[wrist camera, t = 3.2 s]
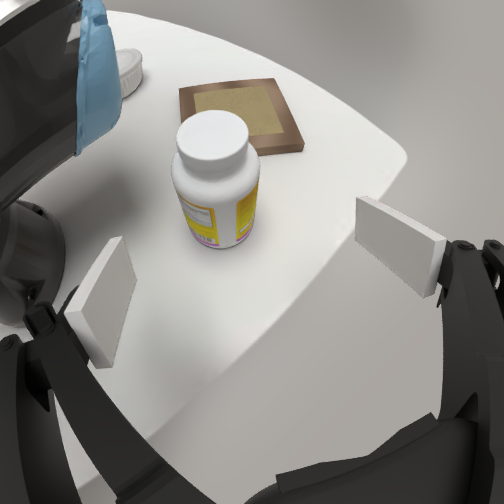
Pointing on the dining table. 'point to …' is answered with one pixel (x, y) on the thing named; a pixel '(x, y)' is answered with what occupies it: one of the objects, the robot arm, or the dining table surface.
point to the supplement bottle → (216, 177)
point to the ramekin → (129, 70)
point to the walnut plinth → (248, 111)
